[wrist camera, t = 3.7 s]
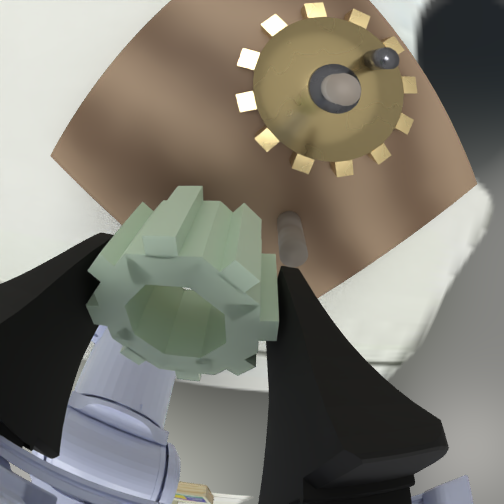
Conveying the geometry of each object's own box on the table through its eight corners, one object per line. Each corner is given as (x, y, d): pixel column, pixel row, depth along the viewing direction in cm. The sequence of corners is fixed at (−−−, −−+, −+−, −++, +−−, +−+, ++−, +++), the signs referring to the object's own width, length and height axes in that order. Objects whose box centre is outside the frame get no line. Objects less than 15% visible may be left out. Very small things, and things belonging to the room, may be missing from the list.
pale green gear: (204, 334, 13) (192, 395, 10) (100, 255, 11) (61, 310, 8) (307, 264, 10) (320, 332, 8) (188, 150, 8) (151, 186, 6)
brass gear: (313, 199, 16) (324, 227, 13) (201, 80, 13) (184, 79, 10) (430, 111, 13) (465, 122, 10) (332, -17, 10) (349, -39, 7)
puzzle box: (96, 459, 64) (120, 477, 76) (92, 470, 60) (118, 487, 72) (208, 484, 63) (214, 496, 76) (207, 497, 59) (213, 506, 72)
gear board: (255, 325, 23) (253, 372, 20) (58, 151, 16) (15, 174, 12) (469, 178, 16) (508, 206, 12) (281, -69, 8) (286, -106, 4)
